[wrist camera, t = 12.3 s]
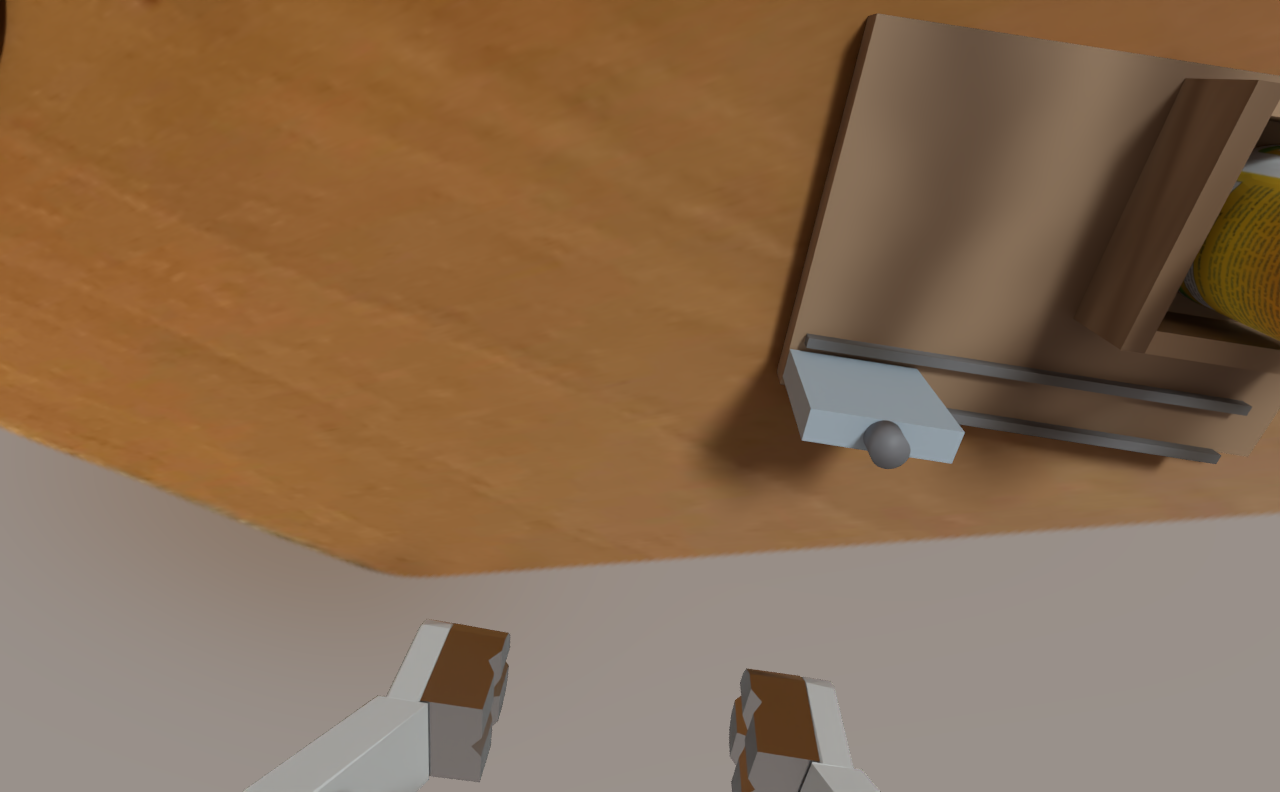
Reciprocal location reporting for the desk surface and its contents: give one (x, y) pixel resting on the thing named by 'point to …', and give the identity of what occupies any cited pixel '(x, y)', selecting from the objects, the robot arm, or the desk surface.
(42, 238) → the desk surface
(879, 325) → the board
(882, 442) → the cover panel
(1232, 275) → the supplement bottle
